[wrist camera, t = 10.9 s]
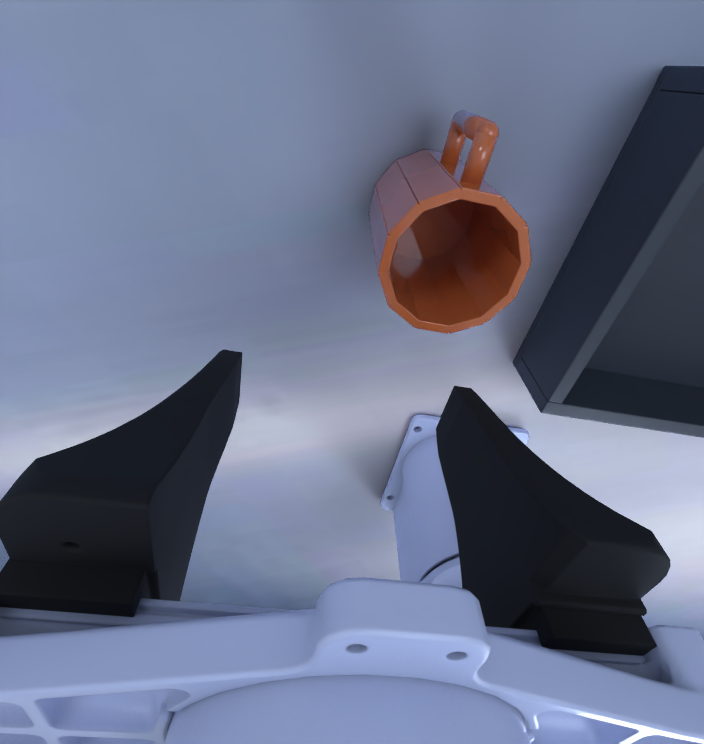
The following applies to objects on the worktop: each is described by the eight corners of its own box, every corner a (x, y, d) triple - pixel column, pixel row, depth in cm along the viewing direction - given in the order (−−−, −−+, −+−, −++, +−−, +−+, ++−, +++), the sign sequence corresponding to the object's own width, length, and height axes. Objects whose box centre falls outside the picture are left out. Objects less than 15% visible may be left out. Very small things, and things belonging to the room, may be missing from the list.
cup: (456, 269, 22) (495, 342, 16) (360, 251, 21) (366, 319, 16) (510, 119, 18) (586, 146, 12) (395, 91, 17) (419, 105, 12)
